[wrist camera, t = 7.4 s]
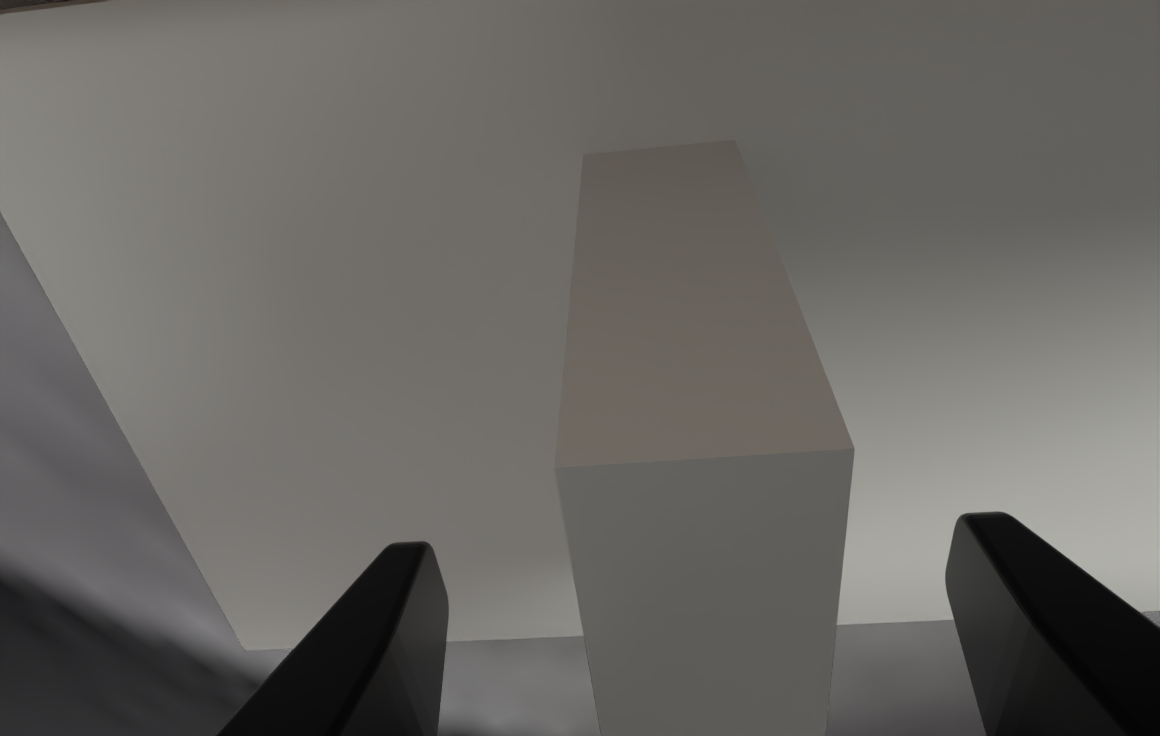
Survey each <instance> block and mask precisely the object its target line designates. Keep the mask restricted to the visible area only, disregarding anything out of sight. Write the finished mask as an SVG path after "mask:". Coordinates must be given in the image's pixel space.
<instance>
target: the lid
mask: <svg viewBox="0 0 1160 736" xmlns="http://www.w3.org/2000/svg"><path fill="white" fill-rule="evenodd" d="M0 212H1V214H2V216H3V218H4V220H5V221H6V223H7V225H8V227H9V229H10V230H11V232H12V234H13V236H14V238H15V239H16V241H17V243H18V245H19V247H20V248H21V250H22V252H23V254H24V256H25V257H26V259H27V261H28V263H29V265H30V266H31V268H32V270H33V272H34V274H35V275H36V277H37V279H38V281H39V283H40V284H41V286H42V288H43V290H44V291H45V293H46V295H47V297H48V299H49V300H50V302H51V304H52V306H53V308H54V309H55V311H56V313H57V315H58V317H59V318H60V320H61V322H62V324H63V326H64V327H65V329H66V331H67V333H68V335H69V336H70V338H71V340H72V342H73V344H74V345H75V347H76V349H77V351H78V353H79V354H80V356H81V358H82V360H83V362H84V363H85V365H86V367H87V369H88V371H89V372H90V374H91V376H92V378H93V379H94V381H95V383H96V385H97V387H98V388H99V390H100V392H101V394H102V396H103V397H104V399H105V401H106V403H107V405H108V406H109V408H110V410H111V412H112V414H113V415H114V417H115V419H116V421H117V423H118V424H119V426H120V428H121V430H122V432H123V433H124V435H125V437H126V439H127V441H128V442H129V444H130V446H131V448H132V450H133V451H134V453H135V455H136V457H137V459H138V460H139V462H140V464H141V466H142V467H143V469H144V471H145V473H146V475H147V476H148V478H149V480H150V482H151V484H152V485H153V487H154V489H155V491H156V493H157V494H158V496H159V498H160V500H161V502H162V503H163V505H164V507H165V509H166V511H167V512H168V514H169V516H170V518H171V520H172V521H173V523H174V525H175V527H176V529H177V530H178V532H179V534H180V536H181V538H182V539H183V541H184V543H185V545H186V546H187V548H188V550H189V552H190V554H191V555H192V557H193V559H194V561H195V563H196V564H197V566H198V568H199V570H200V572H201V573H202V575H203V577H204V579H205V581H206V582H207V584H208V586H209V588H210V590H211V591H212V593H213V595H214V597H215V599H216V600H217V602H218V604H219V606H220V608H221V609H222V611H223V613H224V615H225V617H226V618H227V620H228V622H229V624H230V626H231V627H232V629H233V631H234V633H235V634H236V636H237V638H238V640H239V642H240V643H241V645H242V647H243V649H244V651H251V650H274V649H294V648H295V647H296V645H297V644H298V643H299V642H300V641H301V640H302V639H303V638H304V637H305V636H306V634H307V633H308V632H309V631H310V630H311V629H312V628H313V627H314V626H315V624H316V623H317V622H318V621H319V620H320V619H321V618H322V617H323V616H324V614H325V613H326V612H327V611H328V610H329V609H330V608H331V607H332V606H333V605H334V603H335V602H336V601H337V600H338V599H339V598H340V597H341V596H342V595H343V593H344V592H345V591H346V590H347V589H348V588H349V587H350V586H351V585H352V583H353V582H354V581H355V580H356V579H357V578H358V577H359V576H360V575H361V574H362V572H363V571H364V570H365V569H366V568H367V567H368V566H369V565H370V564H371V562H372V561H373V560H374V559H375V558H376V557H377V556H378V555H379V554H380V552H381V551H382V550H383V549H384V548H385V547H387V546H388V545H390V544H392V543H395V542H412V541H425V542H428V543H430V545H431V546H432V548H433V550H434V552H435V555H436V559H437V562H438V565H439V568H440V571H441V575H442V578H443V581H444V584H445V588H446V591H447V595H448V601H449V619H448V630H447V640H446V642H458V641H481V640H504V639H527V638H549V637H572V636H584V641H585V646H586V652H587V658H588V664H589V669H590V675H591V681H592V687H593V692H594V698H595V704H596V709H597V715H598V721H599V727H600V732H601V736H825V734H826V724H827V715H828V705H829V695H830V685H831V676H832V666H833V656H834V646H835V637H836V627H837V625H848V624H870V623H893V622H916V621H939V620H954V618H953V614H952V611H951V607H950V603H949V600H948V596H947V591H946V585H945V571H946V565H947V560H948V556H949V551H950V546H951V542H952V537H953V532H954V527H955V524H956V521H957V519H958V518H959V516H961V515H962V514H965V513H974V512H993V511H1001V512H1005V513H1007V514H1009V515H1011V516H1013V517H1014V518H1016V519H1017V520H1018V521H1020V522H1021V523H1022V524H1024V525H1025V526H1026V527H1028V528H1029V529H1030V530H1032V531H1033V532H1034V533H1036V534H1037V535H1038V536H1040V537H1041V538H1042V539H1044V540H1045V541H1046V542H1048V543H1049V544H1050V545H1052V546H1053V547H1054V548H1056V549H1057V550H1058V551H1060V552H1061V553H1062V554H1064V555H1065V556H1066V557H1068V558H1069V559H1070V560H1071V561H1073V562H1074V563H1075V564H1077V565H1078V566H1079V567H1081V568H1082V569H1083V570H1085V571H1086V572H1087V573H1089V574H1090V575H1091V576H1093V577H1094V578H1095V579H1097V580H1098V581H1099V582H1101V583H1102V584H1103V585H1105V586H1106V587H1107V588H1109V589H1110V590H1111V591H1113V592H1114V593H1115V594H1117V595H1118V596H1119V597H1121V598H1122V599H1123V600H1124V601H1126V602H1127V603H1128V604H1130V605H1131V606H1132V607H1134V608H1135V609H1136V610H1138V611H1139V612H1146V611H1160V0H72V1H64V2H56V3H48V4H40V5H32V6H24V7H16V8H8V9H0Z"/></svg>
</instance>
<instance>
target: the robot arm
mask: <svg viewBox="0 0 1160 736" xmlns="http://www.w3.org/2000/svg"><path fill="white" fill-rule="evenodd" d="M945 585H946V591H947V596H948V600H949V603H950V607H951V611H952V614H953V618H954V621H955V625H956V628H957V632H958V636H959V639H960V643H961V646H962V650H963V653H964V657H965V661H966V664H967V668H968V671H969V675H970V679H971V682H972V686H973V689H974V693H975V696H976V700H977V704H978V707H979V711H980V714H981V718H982V722H983V725H984V728H985V731H986V735H987V736H1160V627H1159V626H1158V625H1156V624H1155V623H1154V622H1152V621H1151V620H1150V619H1148V618H1147V617H1146V616H1144V615H1143V614H1142V613H1140V612H1139V611H1138V610H1136V609H1135V608H1134V607H1132V606H1131V605H1130V604H1128V603H1127V602H1126V601H1124V600H1123V599H1122V598H1121V597H1119V596H1118V595H1117V594H1115V593H1114V592H1113V591H1111V590H1110V589H1109V588H1107V587H1106V586H1105V585H1103V584H1102V583H1101V582H1099V581H1098V580H1097V579H1095V578H1094V577H1093V576H1091V575H1090V574H1089V573H1087V572H1086V571H1085V570H1083V569H1082V568H1081V567H1079V566H1078V565H1077V564H1075V563H1074V562H1073V561H1071V560H1070V559H1069V558H1068V557H1066V556H1065V555H1064V554H1062V553H1061V552H1060V551H1058V550H1057V549H1056V548H1054V547H1053V546H1052V545H1050V544H1049V543H1048V542H1046V541H1045V540H1044V539H1042V538H1041V537H1040V536H1038V535H1037V534H1036V533H1034V532H1033V531H1032V530H1030V529H1029V528H1028V527H1026V526H1025V525H1024V524H1022V523H1021V522H1020V521H1018V520H1017V519H1016V518H1014V517H1013V516H1011V515H1009V514H1007V513H1005V512H1001V511H993V512H974V513H965V514H962V515H961V516H959V518H958V519H957V521H956V524H955V527H954V532H953V537H952V542H951V546H950V551H949V556H948V560H947V565H946V571H945ZM448 619H449V601H448V595H447V591H446V588H445V584H444V581H443V578H442V575H441V571H440V568H439V565H438V562H437V559H436V555H435V552H434V550H433V548H432V546H431V545H430V543H428V542H425V541H412V542H395V543H392V544H390V545H388V546H387V547H385V548H384V549H383V550H382V551H381V552H380V554H379V555H378V556H377V557H376V558H375V559H374V560H373V561H372V562H371V564H370V565H369V566H368V567H367V568H366V569H365V570H364V571H363V572H362V574H361V575H360V576H359V577H358V578H357V579H356V580H355V581H354V582H353V583H352V585H351V586H350V587H349V588H348V589H347V590H346V591H345V592H344V593H343V595H342V596H341V597H340V598H339V599H338V600H337V601H336V602H335V603H334V605H333V606H332V607H331V608H330V609H329V610H328V611H327V612H326V613H325V614H324V616H323V617H322V618H321V619H320V620H319V621H318V622H317V623H316V624H315V626H314V627H313V628H312V629H311V630H310V631H309V632H308V633H307V634H306V636H305V637H304V638H303V639H302V640H301V641H300V642H299V643H298V644H297V645H296V647H295V648H294V649H293V650H292V651H291V652H290V653H289V654H288V655H287V657H286V658H285V659H284V660H283V661H282V662H281V663H280V664H279V665H278V667H277V668H276V669H275V670H274V671H273V672H272V673H271V674H270V675H269V676H268V678H267V679H266V680H265V681H264V682H263V683H262V684H261V685H260V686H259V688H258V689H257V690H256V691H255V692H254V693H253V694H252V695H251V696H250V698H249V699H248V700H247V701H246V702H245V703H244V704H243V705H242V706H241V707H240V709H239V710H238V711H237V712H236V713H235V714H234V715H233V716H232V717H231V719H230V720H229V721H228V722H227V723H226V724H225V725H224V726H223V727H222V729H221V730H220V731H219V732H218V733H217V734H216V735H215V736H437V732H438V722H439V712H440V702H441V691H442V681H443V671H444V660H445V650H446V640H447V630H448Z"/></svg>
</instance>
